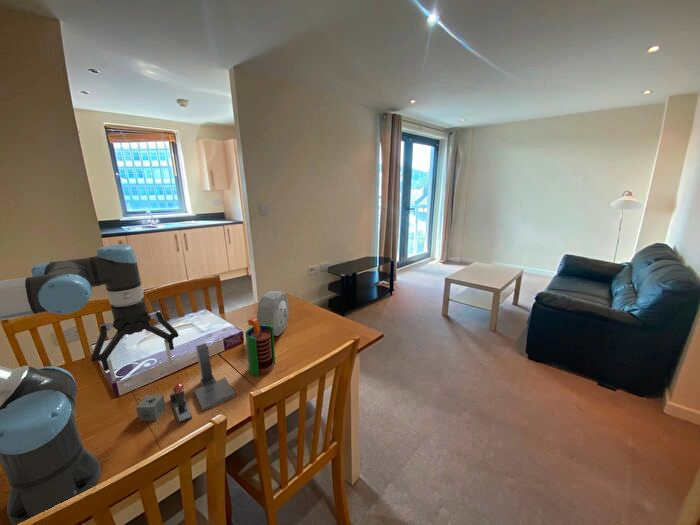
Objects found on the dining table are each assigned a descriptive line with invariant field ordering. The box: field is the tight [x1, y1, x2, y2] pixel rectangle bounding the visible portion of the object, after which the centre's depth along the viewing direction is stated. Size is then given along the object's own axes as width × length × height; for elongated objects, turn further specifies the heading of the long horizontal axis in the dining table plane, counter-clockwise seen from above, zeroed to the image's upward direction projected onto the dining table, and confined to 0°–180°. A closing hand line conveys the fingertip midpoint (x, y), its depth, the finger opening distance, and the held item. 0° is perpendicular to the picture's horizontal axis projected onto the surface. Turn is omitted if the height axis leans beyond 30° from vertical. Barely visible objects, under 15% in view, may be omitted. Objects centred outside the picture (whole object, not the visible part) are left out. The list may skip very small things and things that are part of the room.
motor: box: [245, 317, 276, 378], centre depth 109 cm, size 10×9×20 cm
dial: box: [256, 290, 290, 337], centre depth 135 cm, size 20×12×20 cm, turn 171°
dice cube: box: [135, 394, 167, 422], centre depth 89 cm, size 5×5×5 cm
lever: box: [172, 383, 192, 422], centre depth 87 cm, size 3×4×11 cm
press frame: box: [169, 342, 236, 425], centre depth 95 cm, size 17×16×14 cm
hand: (143, 368), depth 86 cm, fingers open, 13 cm apart
